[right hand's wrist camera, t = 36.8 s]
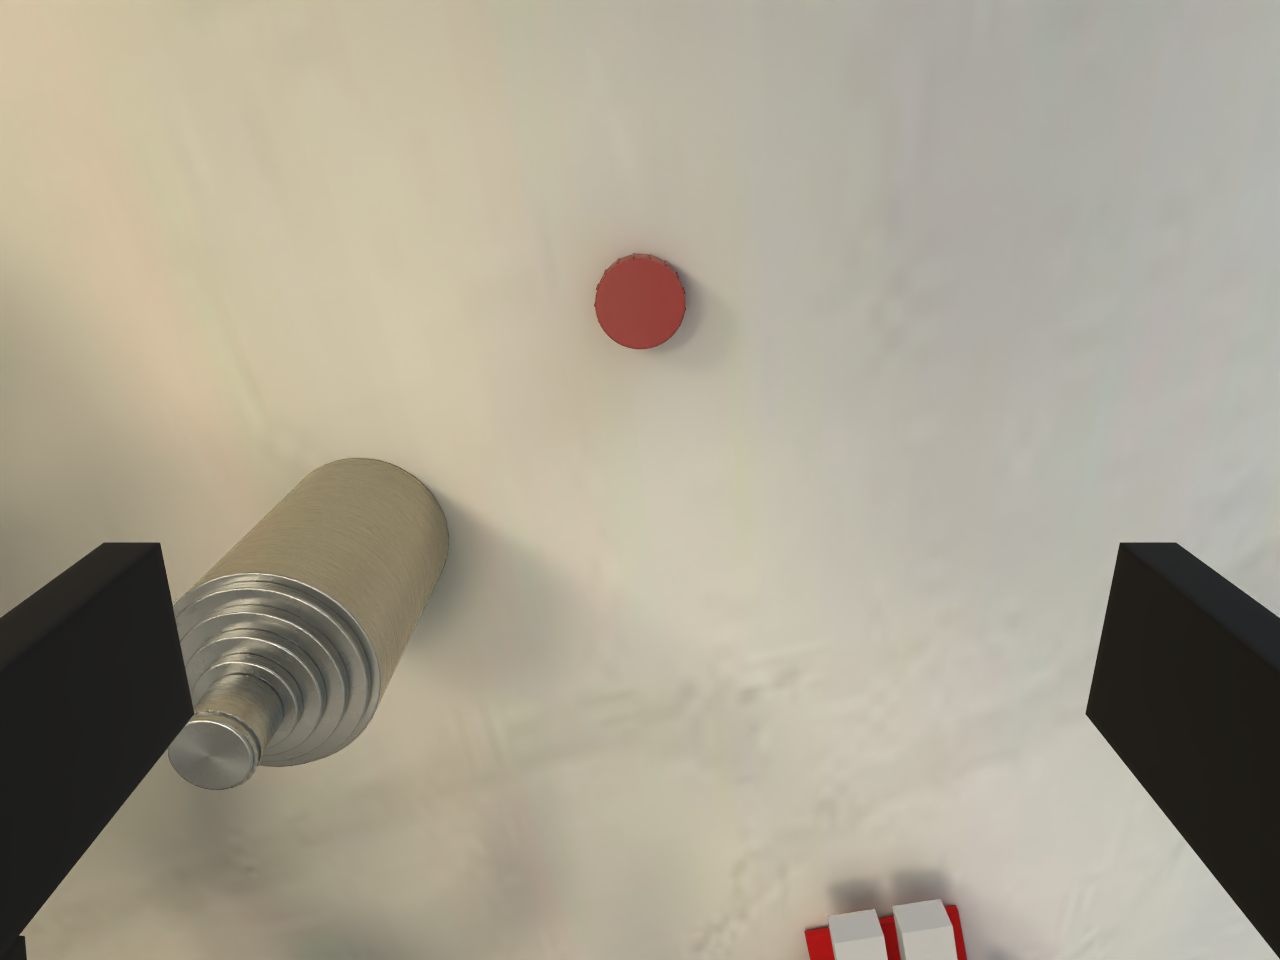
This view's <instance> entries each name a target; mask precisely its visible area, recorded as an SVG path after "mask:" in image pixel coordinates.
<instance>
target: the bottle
mask: <svg viewBox="0 0 1280 960" xmlns="http://www.w3.org/2000/svg"><path fill="white" fill-rule="evenodd" d="M448 547H449V535H448V529H447V524H446V521H445V517H444V515H443V512H442V510H441V508H440V506H439V504H438V503H437V501H436V500H435V498H434V496H433V495H432V494H431V493H430V492H429V490H428V489H427V488H426V487H425V486H424V485H423V484H422V483H421V482H420V481H419V480H417V479H416V478H415V477H413V476H412V475H411V474H409V473H407V472H406V471H404V470H402V469H400V468H398V467H396V466H393V465H391V464H388V463H385V462H382V461H378V460H372V459H362V458H353V459H344V460H339V461H335V462H332V463H329V464H326V465H324V466H322V467H320V468H318V469H316V470H315V471H313V472H312V473H310V474H309V475H308V476H307V477H305V478H304V479H303V480H302V481H301V482H300V483H299V484H298V485H297V486H296V487H295V488H294V489H293V490H292V491H291V492H290V493H289V494H288V495H287V496H286V497H285V498H284V499H283V500H282V501H281V502H280V503H279V504H278V505H277V506H276V507H275V508H273V509H272V510H271V511H270V512H269V513H268V514H267V515H266V516H265V517H264V518H263V519H262V520H261V521H260V522H259V523H258V524H257V525H256V526H255V527H254V528H253V529H252V530H251V531H250V532H249V533H248V534H247V535H246V536H245V537H244V538H243V539H242V540H241V541H240V542H239V543H237V544H236V545H235V546H234V547H233V548H232V549H231V550H230V551H229V552H228V553H227V554H226V555H225V556H224V557H223V558H222V559H221V560H220V561H219V562H218V563H217V564H216V565H215V566H214V567H213V568H212V569H211V570H210V571H209V572H208V573H207V574H206V575H205V576H204V577H203V578H201V579H200V580H199V581H198V582H197V583H196V584H195V585H194V586H193V587H192V588H191V589H190V590H189V591H188V592H187V593H186V594H185V595H184V596H183V597H182V598H181V599H180V600H179V601H178V602H177V603H176V604H175V605H174V607H173V610H174V615H175V620H176V625H177V630H178V635H179V640H180V645H181V650H182V655H183V660H184V665H185V670H186V675H187V680H188V685H189V689H190V694H191V699H192V704H193V709H194V715H193V716H192V718H191V719H190V720H189V721H188V723H187V724H186V725H185V726H184V728H183V729H182V730H181V731H180V733H179V734H178V735H177V737H176V738H175V739H174V740H173V742H172V743H171V744H170V745H169V747H168V756H169V759H170V762H171V764H172V766H173V767H174V769H175V770H176V771H177V773H178V774H179V775H180V776H181V777H183V778H184V779H185V780H187V781H188V782H190V783H192V784H194V785H196V786H199V787H201V788H205V789H211V790H223V789H228V788H233V787H235V786H238V785H240V784H243V783H244V782H245V781H247V780H248V779H249V778H250V777H251V776H252V774H253V773H254V772H255V770H256V768H257V766H258V765H261V766H273V767H283V766H294V765H300V764H305V763H308V762H312V761H315V760H319V759H322V758H325V757H327V756H330V755H332V754H334V753H336V752H338V751H340V750H341V749H343V748H344V747H346V746H348V745H349V744H350V743H351V742H353V741H354V740H355V739H356V738H357V737H358V736H359V735H360V734H361V733H362V732H363V731H364V729H365V728H366V727H367V725H368V724H369V722H370V721H371V719H372V717H373V715H374V713H375V711H376V709H377V707H378V704H379V702H380V700H381V698H382V696H383V694H384V692H385V690H386V688H387V685H388V683H389V681H390V679H391V677H392V675H393V673H394V671H395V669H396V666H397V664H398V662H399V660H400V658H401V656H402V654H403V652H404V650H405V647H406V645H407V643H408V641H409V639H410V637H411V635H412V633H413V631H414V628H415V626H416V624H417V622H418V620H419V618H420V616H421V614H422V612H423V609H424V607H425V605H426V603H427V601H428V599H429V597H430V595H431V593H432V590H433V588H434V586H435V584H436V582H437V580H438V578H439V576H440V573H441V571H442V569H443V567H444V565H445V562H446V558H447V555H448Z"/></svg>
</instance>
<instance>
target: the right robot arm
mask: <svg viewBox="0 0 1280 960" xmlns="http://www.w3.org/2000/svg"><path fill="white" fill-rule="evenodd" d="M193 715H194V709H193V704H192V699H191V694H190V689H189V685H188V680H187V675H186V670H185V665H184V660H183V655H182V650H181V645H180V640H179V635H178V630H177V625H176V620H175V615H174V610H173V605H172V600H171V595H170V590H169V585H168V580H167V575H166V570H165V565H164V560H163V555H162V550H161V545H160V543H103V544H101V545H100V546H99V547H97V548H96V549H95V550H93V551H92V552H90V553H89V554H88V555H86V556H85V557H84V558H82V559H81V560H79V561H78V562H77V563H75V564H74V565H73V566H71V567H70V568H68V569H67V570H66V571H64V572H63V573H62V574H60V575H59V576H57V577H56V578H55V579H53V580H52V581H51V582H49V583H48V584H46V585H45V586H44V587H42V588H41V589H40V590H38V591H37V592H36V593H34V594H33V595H31V596H30V597H29V598H27V599H26V600H25V601H23V602H22V603H20V604H19V605H18V606H16V607H15V608H14V609H12V610H11V611H9V612H8V613H7V614H5V615H4V616H3V617H1V618H0V958H1V957H2V956H3V955H4V953H5V952H6V951H7V950H8V948H9V947H10V946H11V945H12V943H13V942H14V941H15V940H16V938H17V937H18V936H19V934H20V933H21V932H22V931H23V929H24V928H25V927H26V926H27V924H28V923H29V922H30V921H31V919H32V918H33V917H34V916H35V914H36V913H37V912H38V911H39V909H40V908H41V907H42V905H43V904H44V903H45V902H46V900H47V899H48V898H49V897H50V895H51V894H52V893H53V892H54V890H55V889H56V888H57V887H58V885H59V884H60V883H61V882H62V880H63V879H64V878H65V876H66V875H67V874H68V873H69V871H70V870H71V869H72V868H73V866H74V865H75V864H76V863H77V861H78V860H79V859H80V858H81V856H82V855H83V854H84V853H85V851H86V850H87V849H88V847H89V846H90V845H91V844H92V842H93V841H94V840H95V839H96V837H97V836H98V835H99V834H100V832H101V831H102V830H103V829H104V827H105V826H106V825H107V824H108V822H109V821H110V820H111V818H112V817H113V816H114V815H115V813H116V812H117V811H118V810H119V808H120V807H121V806H122V805H123V803H124V802H125V801H126V800H127V798H128V797H129V796H130V795H131V793H132V792H133V791H134V789H135V788H136V787H137V786H138V784H139V783H140V782H141V781H142V779H143V778H144V777H145V776H146V774H147V773H148V772H149V771H150V769H151V768H152V767H153V766H154V764H155V763H156V762H157V760H158V759H159V758H160V757H161V755H162V754H163V753H164V752H165V750H166V749H167V748H168V747H169V745H170V744H171V743H172V742H173V740H174V739H175V738H176V737H177V735H178V734H179V733H180V731H181V730H182V729H183V728H184V726H185V725H186V724H187V723H188V721H189V720H190V719H191V718H192V716H193ZM1086 715H1087V716H1088V718H1089V719H1090V720H1091V721H1092V723H1093V724H1094V725H1095V726H1096V728H1097V729H1098V730H1099V731H1100V733H1101V734H1102V735H1103V737H1104V738H1105V739H1106V740H1107V742H1108V743H1109V744H1110V745H1111V747H1112V748H1113V749H1114V750H1115V752H1116V753H1117V754H1118V755H1119V757H1120V758H1121V759H1122V760H1123V762H1124V763H1125V764H1126V766H1127V767H1128V768H1129V769H1130V771H1131V772H1132V773H1133V774H1134V776H1135V777H1136V778H1137V779H1138V781H1139V782H1140V783H1141V784H1142V786H1143V787H1144V788H1145V789H1146V791H1147V792H1148V793H1149V795H1150V796H1151V797H1152V798H1153V800H1154V801H1155V802H1156V803H1157V805H1158V806H1159V807H1160V808H1161V810H1162V811H1163V812H1164V813H1165V815H1166V816H1167V817H1168V818H1169V820H1170V821H1171V822H1172V824H1173V825H1174V826H1175V827H1176V829H1177V830H1178V831H1179V832H1180V834H1181V835H1182V836H1183V837H1184V839H1185V840H1186V841H1187V842H1188V844H1189V845H1190V846H1191V847H1192V849H1193V850H1194V851H1195V853H1196V854H1197V855H1198V856H1199V858H1200V859H1201V860H1202V861H1203V863H1204V864H1205V865H1206V866H1207V868H1208V869H1209V870H1210V871H1211V873H1212V874H1213V875H1214V876H1215V878H1216V879H1217V880H1218V882H1219V883H1220V884H1221V885H1222V887H1223V888H1224V889H1225V890H1226V892H1227V893H1228V894H1229V895H1230V897H1231V898H1232V899H1233V900H1234V902H1235V903H1236V904H1237V905H1238V907H1239V908H1240V909H1241V911H1242V912H1243V913H1244V914H1245V916H1246V917H1247V918H1248V919H1249V921H1250V922H1251V923H1252V924H1253V926H1254V927H1255V928H1256V929H1257V931H1258V932H1259V933H1260V934H1261V936H1262V937H1263V938H1264V940H1265V941H1266V942H1267V943H1268V945H1269V946H1270V947H1271V948H1272V950H1273V951H1274V952H1275V953H1276V955H1277V956H1278V957H1279V958H1280V618H1279V617H1277V616H1276V615H1275V614H1273V613H1272V612H1271V611H1269V610H1268V609H1266V608H1265V607H1264V606H1262V605H1261V604H1260V603H1258V602H1257V601H1255V600H1254V599H1253V598H1251V597H1250V596H1249V595H1247V594H1246V593H1244V592H1243V591H1242V590H1240V589H1239V588H1238V587H1236V586H1235V585H1233V584H1232V583H1231V582H1229V581H1228V580H1227V579H1225V578H1224V577H1223V576H1221V575H1220V574H1218V573H1217V572H1216V571H1214V570H1213V569H1212V568H1210V567H1209V566H1207V565H1206V564H1205V563H1203V562H1202V561H1201V560H1199V559H1198V558H1196V557H1195V556H1194V555H1192V554H1191V553H1190V552H1188V551H1187V550H1185V549H1184V548H1183V547H1181V546H1180V545H1179V544H1177V543H1120V545H1119V550H1118V555H1117V560H1116V565H1115V570H1114V575H1113V580H1112V585H1111V590H1110V595H1109V600H1108V605H1107V610H1106V615H1105V620H1104V625H1103V630H1102V635H1101V640H1100V645H1099V650H1098V655H1097V660H1096V665H1095V670H1094V675H1093V680H1092V685H1091V689H1090V694H1089V699H1088V704H1087V709H1086Z"/></svg>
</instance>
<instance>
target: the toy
mask: <svg viewBox="0 0 1280 960" xmlns="http://www.w3.org/2000/svg"><path fill="white" fill-rule="evenodd" d="M892 908H893V914H894V916H890V917H884V918H878V917H877V914H876V911H875V909H870V910H863V911H857V912H850V913H844V914H837V915H830V916H827V918H828V924H829V927H826V928H820V929H815V930H809V931H805V936H806V941H807V946H808V950H809V955H810V960H967V958H966V952H965V946H964V941H963V935H962V930H961V924H960V918H959V913H958V910H957V908H956V905H953V906H947V907H944V905H943V903H942V901H941V899H936V900H929V901H923V902H916V903H910V904H903V905H896V906H892Z"/></svg>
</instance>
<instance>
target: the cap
mask: <svg viewBox="0 0 1280 960" xmlns="http://www.w3.org/2000/svg"><path fill="white" fill-rule="evenodd" d="M596 290H597V294H596V301H595V305H594V306H595V307H596V314H597V318H598V322H599V323H600V325H601V327H602V328H603V330H604V331H605V332H606V334H607V335H608V336H609V337H610V338H611V339H613V340H614V341H615V342H617V343H619V344H621V345H623V346H625V347H628V348H633V349H647V348H652V347H655V346H658V345H660V344H662V343H664V342H665V341H667V340H668V339H669V338H670V337H671V336H672V335H673V334H674V333H675V332H676V331H677V329H678V328H679V326H680V324H681V322H682V319H683V316H684V312H685V310H686V308H685V296H684V294H685V290H684V287H682V285H681V282H680V280H679V276H678V273H677V272H676V273H675V271H674V270H673V269H672V268H671V267H670V266H669V265H668V264H667V262H666V261H663V260H661V259H659V258H656V257H654V256H651V254H649V255H644V254H636V255H635V253H633V255H630V256H627V257H624V258H622V259H617V262H615V263H614V264H613V265H611V266H610V267H609V268H608V270H607V269H606V270H605V272H604V275H603V277H602V279H601V281H600V284H598V285H597V288H596Z"/></svg>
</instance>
